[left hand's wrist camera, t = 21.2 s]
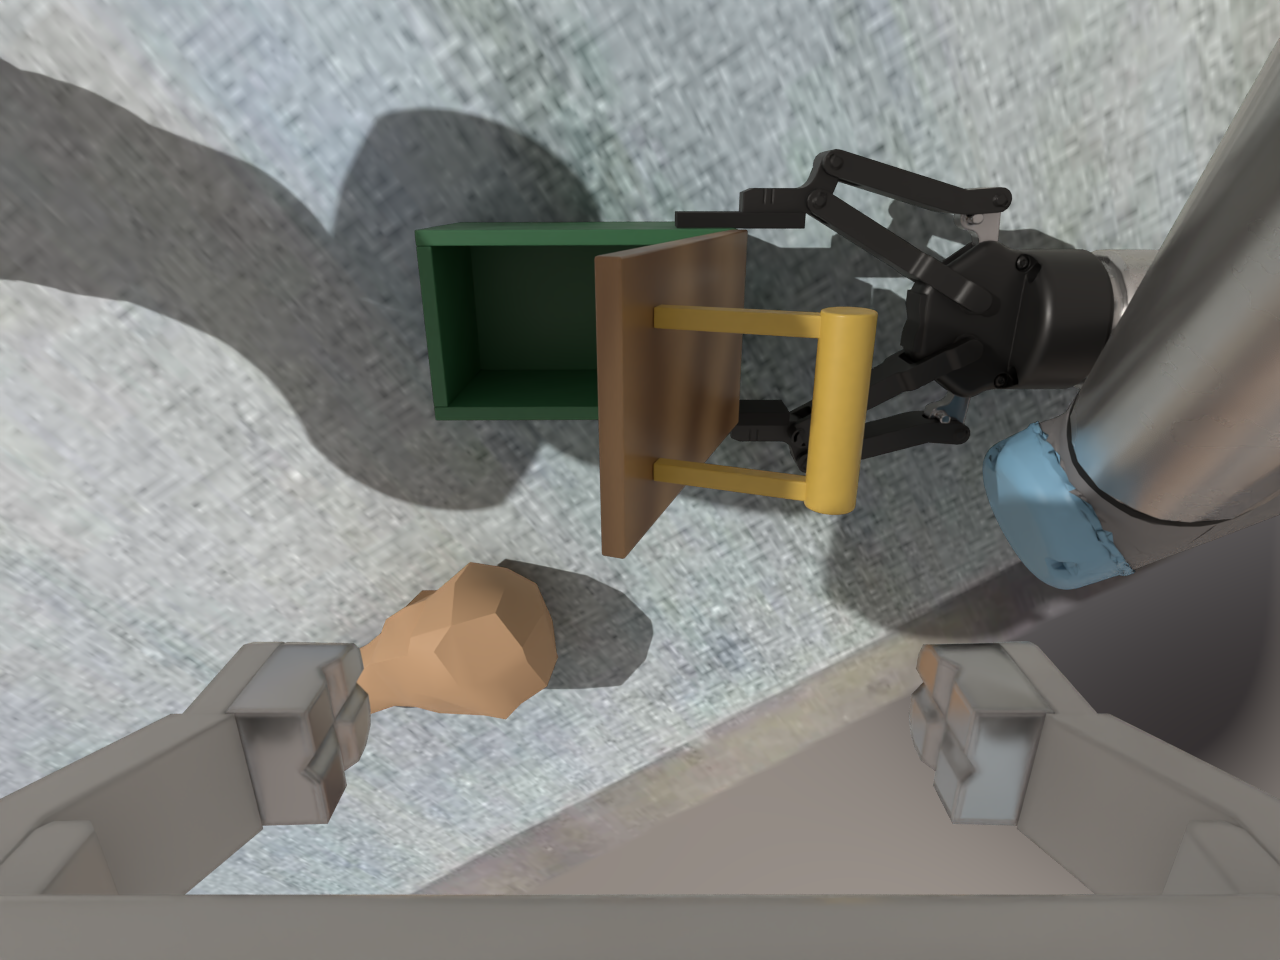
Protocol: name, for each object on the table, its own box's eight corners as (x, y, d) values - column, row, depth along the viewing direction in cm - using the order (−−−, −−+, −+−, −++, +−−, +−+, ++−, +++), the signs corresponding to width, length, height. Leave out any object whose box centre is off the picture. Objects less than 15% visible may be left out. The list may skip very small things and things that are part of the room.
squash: (593, 624, 56) (581, 722, 48) (390, 699, 61) (352, 797, 54) (514, 524, 50) (487, 617, 43) (300, 617, 56) (244, 713, 49)
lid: (600, 555, 25) (840, 597, 22) (592, 256, 21) (877, 263, 18) (722, 421, 39) (876, 437, 37) (730, 229, 36) (901, 231, 33)
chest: (472, 378, 48) (435, 420, 39) (458, 222, 45) (413, 229, 36) (712, 377, 48) (729, 419, 39) (717, 221, 45) (738, 228, 36)
